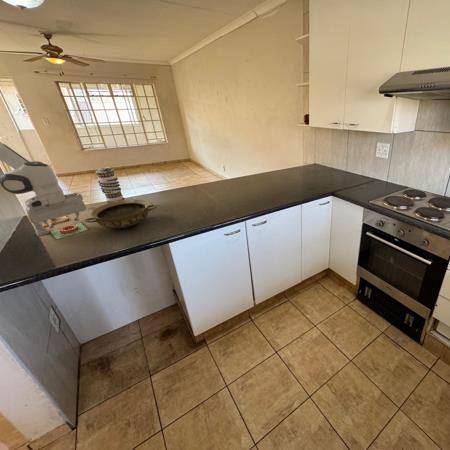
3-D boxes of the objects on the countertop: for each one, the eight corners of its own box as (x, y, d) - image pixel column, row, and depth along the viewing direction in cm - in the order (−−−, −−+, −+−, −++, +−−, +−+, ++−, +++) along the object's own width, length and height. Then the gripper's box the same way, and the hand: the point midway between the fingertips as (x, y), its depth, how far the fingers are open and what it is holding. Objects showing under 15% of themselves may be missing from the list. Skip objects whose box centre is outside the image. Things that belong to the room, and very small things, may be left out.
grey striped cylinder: (129, 206, 149) (115, 165, 137) (127, 211, 142) (112, 168, 130) (111, 208, 145) (95, 166, 134) (108, 214, 138) (91, 170, 126)
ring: (62, 235, 117) (61, 232, 116) (58, 231, 120) (57, 228, 120) (80, 229, 121) (79, 227, 121) (76, 225, 125) (75, 223, 124)
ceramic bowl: (91, 244, 110) (81, 225, 105) (91, 225, 127) (83, 207, 122) (164, 225, 126) (159, 208, 121) (155, 210, 143) (151, 194, 138)
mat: (57, 240, 114) (56, 239, 113) (50, 232, 120) (50, 231, 120) (88, 230, 122) (88, 229, 122) (81, 223, 129) (80, 222, 128)
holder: (43, 228, 124) (38, 217, 122) (39, 222, 130) (34, 212, 127) (68, 221, 131) (64, 211, 129) (63, 216, 137) (59, 206, 134)
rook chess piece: (46, 231, 121) (38, 216, 118) (51, 233, 120) (43, 218, 116) (35, 235, 118) (26, 220, 114) (39, 237, 116) (30, 222, 112)
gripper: (78, 190, 122) (88, 215, 128) (19, 202, 107) (35, 230, 114) (82, 193, 118) (92, 218, 125) (22, 205, 104) (37, 234, 110)
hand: (64, 224), depth 119 cm, fingers open, 8 cm apart
